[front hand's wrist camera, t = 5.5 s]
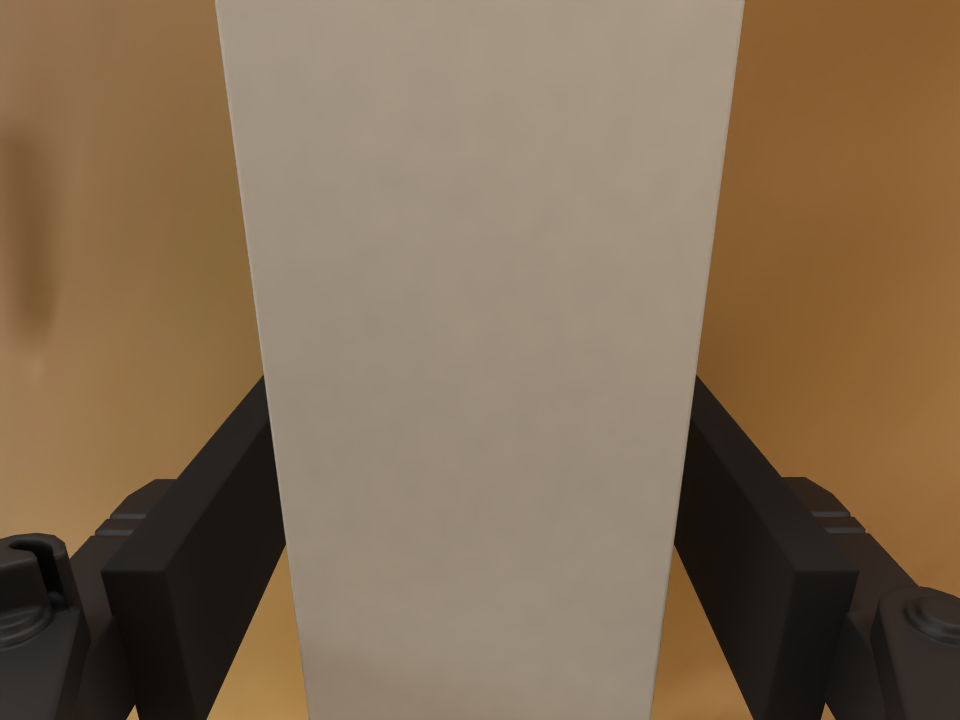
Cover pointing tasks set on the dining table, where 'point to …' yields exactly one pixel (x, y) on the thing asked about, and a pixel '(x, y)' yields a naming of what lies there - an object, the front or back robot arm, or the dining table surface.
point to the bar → (479, 333)
